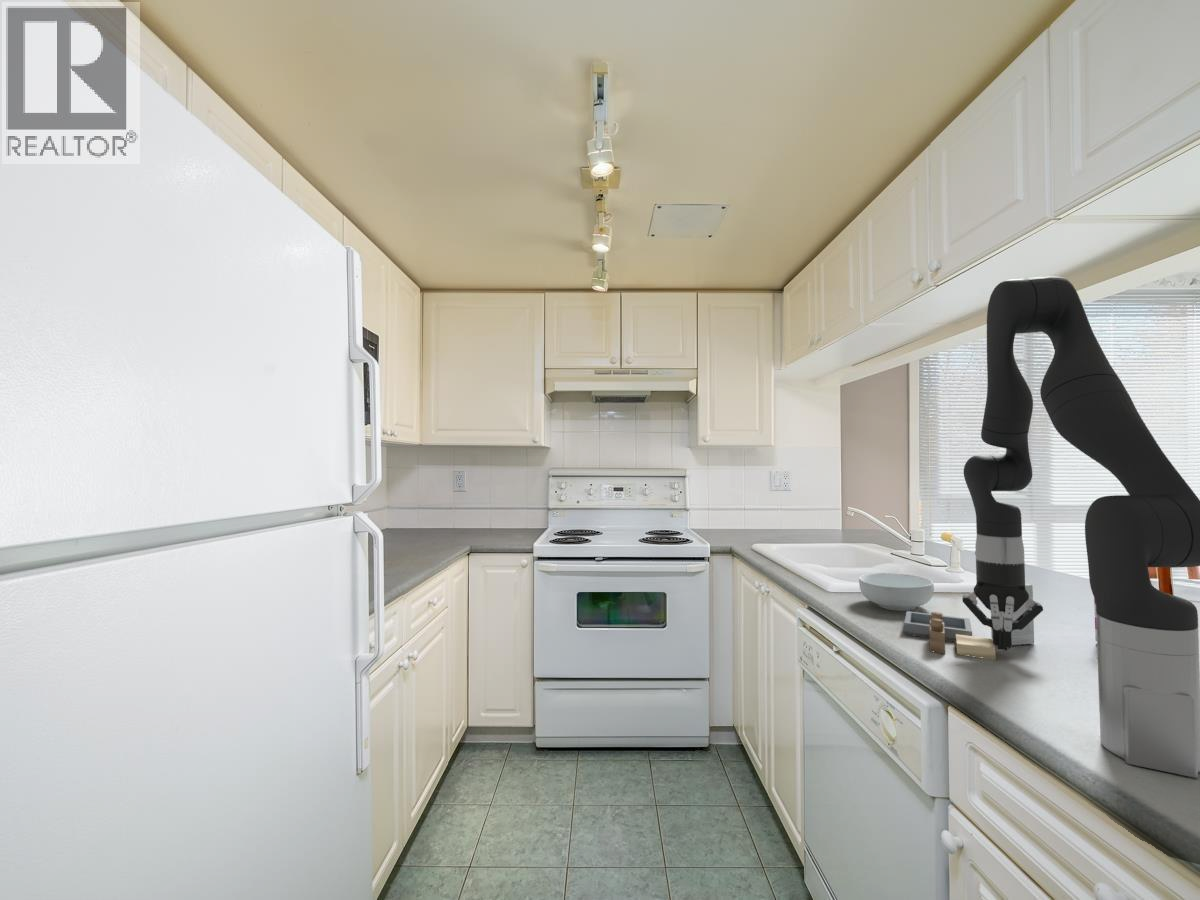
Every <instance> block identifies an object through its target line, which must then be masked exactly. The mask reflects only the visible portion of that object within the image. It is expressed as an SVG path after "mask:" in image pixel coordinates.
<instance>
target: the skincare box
mask: <svg viewBox="0 0 1200 900" xmlns="http://www.w3.org/2000/svg"><path fill="white" fill-rule="evenodd" d="M1025 588H1026V591H1027V592H1028V594H1029V598H1031V599H1032V600H1034V592H1033V591H1034V589H1033V585H1032V584H1029V583H1026V582H1025ZM1026 604H1027V602H1025V603H1024V604H1023V605H1022V606H1021V607H1020V608H1019V609H1018V610H1017V611H1016V612H1014V613H1013V620H1012V621H1015V620H1016V619H1017V618H1018V617H1019V616H1021V615H1022V614H1023V613H1024V612H1025V611H1026V610H1027V609H1026V607H1025V606H1026ZM999 616H1000V625H1001V628H1003V612H1002V611H1001V612H999ZM1034 619H1035V618H1034ZM1034 619H1033V620H1032V621H1031V622H1030V623H1029V624H1028V625H1027V626H1026V627H1024V628H1023V629H1022V630H1019V629H1016V630H1013V631H1012V632H1011V638H1012V646H1020V645H1022V644H1023V645H1033V644H1035V631H1034V630H1035V628H1034V627H1035V626H1034V625H1035V623H1034ZM990 629H991V631H990V633H991V639H992V640H993V634H992V628H991V627H990ZM1023 645H1022V646H1023Z"/></svg>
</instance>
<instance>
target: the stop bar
mask: <svg viewBox="0 0 1200 900" xmlns="http://www.w3.org/2000/svg"><path fill="white" fill-rule="evenodd" d="M930 614H931V620H930V638H929V649H930V650H929V652H930V651H934V652H933V653H936V652H939V653H938V654H942V653H945V654H946V640H945V629H944V622H943V615H944V614H943V613H942V612H937V611H932V612H930Z"/></svg>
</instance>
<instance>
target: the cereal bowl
mask: <svg viewBox="0 0 1200 900" xmlns="http://www.w3.org/2000/svg"><path fill="white" fill-rule="evenodd" d="M858 584H859V589H860V592H861V594H862V596H864V597H865V598H866V600H868V601H870V602H872V603H874V604H877V605H878V606H879V607H881V608H883V609H886V610H890V611H897V612H899V611H900V612H907V611H912V610H914V609H915V608H917V607H920V606H924V605H926V604H927V603H928V602H930V601H931V600H932V598H933V596H934V591H935V590H934V589H935V587H934V586H935V585H934V581H933V580H932V579H929V578H927V577H923V576H920V575H915V574H906V573H897V572H873V573H872V572H871V573H866V574H862V575H860V576H859V577H858Z"/></svg>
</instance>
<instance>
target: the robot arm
mask: <svg viewBox="0 0 1200 900" xmlns="http://www.w3.org/2000/svg"><path fill="white" fill-rule="evenodd" d="M992 290H993V291H992V292H991V294H990V297H989V300H988V303H987V311H986V312H987V313H986V371H987V375H986V376H987V377H986V378H987V380H986V381H987V386H986V388H987V389H986V399H985V405H984V407H985V408H984V412H983V420H982V426H981V430H980V431H981V432H980V437H981V440H982V441H983V442H984V443H985V444H986V445H990V446H992V447H996V448H1002V449H1005V451H1006V452H1005V454H980V455H973V456H971V457H969V459H967V461H965V464H964V466H963V478H964V480H965V483H966V486H967V490H968V492H969V494H970V498H971V500H972V504H973V508H974V512H975V518H976V521H975V524H976V525H975V526H976V527H975V528H976V538H975V546H974V547H975V551H974V555H975V568H976V569H975V570H976V571H975V572H976V574H975V575H976V576H975V577H976V583H975V586H974V587H973V591H972V592H971V593H969V594H964V595H962V597H961V600H962V603H964V605H965V606H966V607H967V608H968V610H969V611H970V612H971V613H972V614H973V616H974V617H975V618H976V619H977V620H978V621H979V622H980V623H981V624H982V625H983V626H986V627H990V629H991V628H992V634H993V639H992V640H993V644H994V646H995V647H997V650H999V651H1008V649H1011V648H1012V646H1013V645H1012V638H1011V632H1012V631H1013V630H1016V629H1019V630H1022V629H1023V628H1024V627H1026V626H1027V625H1028V624H1029V623H1030V622H1031V621H1032V620H1033V619H1035V618H1037V616H1039V615H1040V614H1041V613H1042V612H1043V611H1044V607H1043V605H1042V604H1041V603H1040V602H1038V601H1035V600H1034V599H1033V600H1032V599H1031V598H1029V594H1028V592H1027V591H1026V588H1025V583H1026V572H1025V571H1026V567H1025V565H1026V563H1025V547H1024V546H1025V545H1024V541H1023V529H1022V528H1023V523H1022V513H1021V509H1020V507H1019V506H1017V505H1014V504H1010V503H1004V502H999V501H997V500H996V499H995V497H994V495H993V494H992V492H1018V491H1022V490H1024V489H1025V488H1026V487H1028V486H1029V484H1030V483H1031V482H1032V478H1033V467H1032V462H1031V457H1030V448H1029V431H1030V426H1031V419H1032V415H1033V409H1034V399H1033V394H1032V391H1031V388H1030V387H1029V385H1028V383H1027V381H1026V379H1025V378H1024V376H1023V374H1022V372H1021V370H1020V369H1019V367H1018V364H1017V361H1016V359H1015V355H1014V343H1015V338H1016V337H1015V336H1016V334H1018V335H1019V334H1031V333H1043V334H1045V335H1047V337H1048V338H1049V339H1050V341H1051V344H1052V346H1053V350H1054V354H1053V357H1052V360H1051V362H1050V363H1049V366H1048V368H1047V370H1046V372H1045V373H1044V377H1043V379H1042V382H1041V386H1040V391H1039V393H1040V397H1041V402H1042V404H1043V407H1044V409H1045V410H1046V413H1047V415H1048V417H1049V419H1050V421H1051V423H1052V426H1053V427H1054V428H1055V430H1056V431H1057V433H1058V434H1059V435H1060V436H1061V438H1063V439H1065V441H1066V442H1068V443H1069V444H1070V445H1072V446H1073V447H1075V448H1076V449H1077V450H1078V451H1080V452H1081V453H1083V454H1084V455H1086V456H1088V457H1089V458H1091V460H1093V461H1095V462H1097V463H1098V464H1100V465H1101V466H1102V467H1103V468H1105V469H1106V470H1107V471H1109V472H1110V474H1112V475H1113V476H1114V477H1115V478H1116V479H1117V480H1118V481H1119V482H1120V483H1121V485H1122V487H1123V488H1124V489H1125V490H1126V492H1127V494H1125V495H1121V494H1120V495H1119V494H1118V495H1116V494H1115V495H1105V496H1101V497H1098V498H1096V499H1095V500H1093V502H1092V503H1091V504H1090V506H1089V507H1088V509H1087V512H1086V514H1085V521H1084V535H1085V536H1084V537H1085V546H1086V547H1085V549H1086V557H1087V563H1088V577H1089V585H1090V589H1091V593H1092V595H1093V600H1094V599H1095V602H1096V621H1097V641H1096V652H1097V674H1098V675H1097V676H1098V677H1097V678H1098V679H1097V680H1098V681H1097V682H1098V709H1099V731H1100V732H1099V733H1100V743H1101V746H1103V747H1104V748H1105V749H1106V750H1108V751H1110V753H1112V754H1114V755H1116V756H1118V757H1120V758H1121V759H1123V760H1124V761H1125V763H1126V764H1127V765H1128V764H1129V765H1132V766H1137V767H1143V768H1147V769H1152V770H1156V771H1161V772H1166V773H1171V774H1176V775H1180V776H1185V777H1190V778H1194V779H1198V778H1199V773H1200V642H1199V641H1200V639H1199V637H1200V636H1199V614H1198V613H1199V611H1198V609H1197V607H1196V605H1195V604H1194V603H1192V601H1189V600H1188V599H1186V598H1182V597H1180V596H1176V595H1173V594H1171V593H1167V592H1163V591H1161V590H1159V589H1157V588H1156V587H1154V586H1153V584H1152V581H1151V579H1150V578H1151V576H1150V572H1149V568H1167V569H1168V568H1173V569H1174V568H1194V567H1195V568H1196V567H1200V498H1198V496H1197V495H1196V494H1195V492H1194V491H1193V489H1192V488H1191V487H1190V485H1189V484H1188V483H1187V482H1186V480H1185V479H1184V478H1183V476H1182V475H1181V474H1180V473H1179V472H1178V470H1177V469H1176V467H1175V466H1174V465H1173V464H1172V462H1171V461H1170V460H1169V458H1168V457H1167V455H1166V454H1165V453H1164V452H1163V450H1162V448H1161V447H1160V445H1159V444H1158V442H1157V441H1156V439H1155V438H1154V435H1153V434H1152V432H1151V431H1150V430H1149V428H1148V426H1147V425H1146V423H1145V422H1144V420H1143V418H1142V416H1141V415H1140V413H1139V412H1138V409H1137V408H1136V405H1135V403H1134V401H1133V400H1132V398H1131V396H1130V394H1129V392H1128V391H1127V389H1126V388H1125V387H1126V386H1125V385H1124V384H1123V382H1122V381H1121V378H1120V377H1119V376H1118V374H1117V373H1116V371H1115V370H1114V368H1113V366H1112V365H1111V364H1110V362H1109V359H1108V358H1107V357H1106V354H1105V352H1104V351H1103V349H1102V347H1101V345H1100V343H1099V340H1098V339H1097V337H1096V335H1095V333H1094V331H1093V329H1092V326H1091V324H1090V321H1089V318H1088V316H1087V314H1086V311H1085V308H1084V306H1083V304H1082V300H1081V298H1080V295H1079V293H1078V291H1077V289H1076V288H1075V286H1074V285H1073V283H1072V282H1070V280H1069V279H1068V278H1065V277H1064V276H1058V275H1057V276H1056V275H1054V276H1053V275H1049V276H1038V277H1037V276H1035V277H1025V278H1015V279H1005V280H1004V281H1001V282H999V283H998V284H997V285H996V286H995V287H994V289H992ZM977 598H978V599H977ZM978 600H979V601H980V602H981V604H983V606H984V607H985V608H986V609H988V610H989V611H990V617H988V616H986V614H985V613H984V612H983V611H982V609H980V608H979V607H978ZM1025 602H1027V604H1026V606H1025V607H1026V609H1027V610H1026V611H1025V612H1024V613H1023V614H1022V615H1021V616H1019V617H1018V618H1017V619H1016V620H1015V621H1012V620H1013V613H1014V612H1016V611H1017V610H1018V609H1019V608H1020V607H1021V606H1022V605H1023V604H1024V603H1025ZM1001 611H1002V612H1003V628H1001V625H1000V616H999V612H1001Z"/></svg>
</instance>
